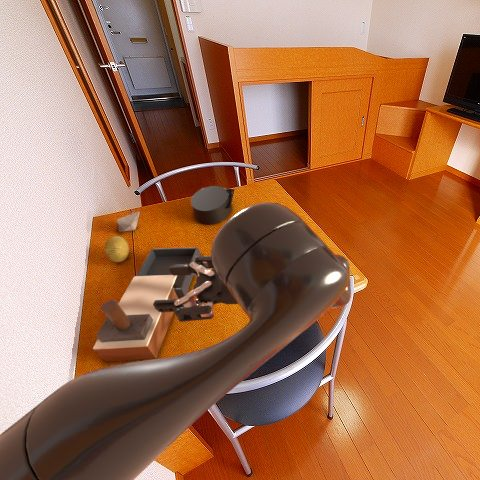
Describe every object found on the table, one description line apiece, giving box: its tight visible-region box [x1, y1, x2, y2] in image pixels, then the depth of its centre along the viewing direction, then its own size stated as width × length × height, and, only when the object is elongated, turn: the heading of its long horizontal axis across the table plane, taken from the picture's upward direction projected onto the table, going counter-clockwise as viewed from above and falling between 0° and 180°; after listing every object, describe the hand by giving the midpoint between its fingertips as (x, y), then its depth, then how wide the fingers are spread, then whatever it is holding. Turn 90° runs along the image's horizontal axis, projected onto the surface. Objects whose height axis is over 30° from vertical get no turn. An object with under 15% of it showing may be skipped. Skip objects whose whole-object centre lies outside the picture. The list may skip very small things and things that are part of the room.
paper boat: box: [116, 209, 140, 233], centre depth 97 cm, size 12×6×9 cm
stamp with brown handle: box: [95, 299, 153, 342], centre depth 59 cm, size 5×9×9 cm, turn 95°
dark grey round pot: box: [190, 185, 236, 226], centre depth 106 cm, size 14×18×8 cm
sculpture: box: [104, 235, 130, 263], centre depth 84 cm, size 8×4×8 cm, turn 8°
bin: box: [135, 246, 202, 299], centre depth 81 cm, size 17×14×3 cm
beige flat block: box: [92, 275, 179, 362], centre depth 68 cm, size 20×11×6 cm, turn 5°
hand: (163, 287), depth 52 cm, fingers open, 8 cm apart
